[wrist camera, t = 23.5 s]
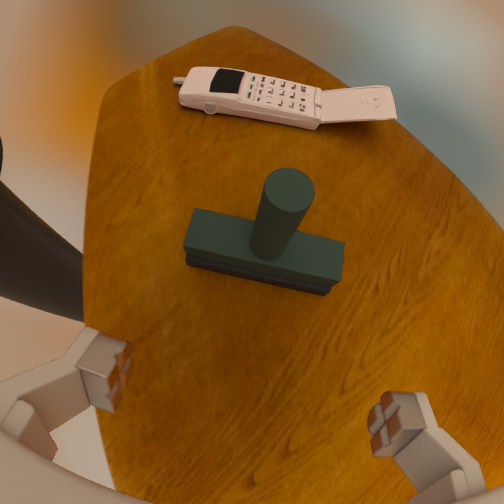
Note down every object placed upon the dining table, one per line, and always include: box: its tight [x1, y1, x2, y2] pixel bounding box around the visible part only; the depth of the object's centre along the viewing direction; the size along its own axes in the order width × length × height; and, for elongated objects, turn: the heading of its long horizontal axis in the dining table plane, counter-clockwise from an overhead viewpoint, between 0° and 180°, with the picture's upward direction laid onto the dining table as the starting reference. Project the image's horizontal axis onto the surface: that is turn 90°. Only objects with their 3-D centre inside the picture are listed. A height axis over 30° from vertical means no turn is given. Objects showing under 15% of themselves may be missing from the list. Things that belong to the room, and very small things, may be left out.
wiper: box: [183, 168, 345, 296], centre depth 21 cm, size 12×4×12 cm, turn 78°
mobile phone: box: [173, 67, 397, 130], centre depth 29 cm, size 6×6×25 cm
